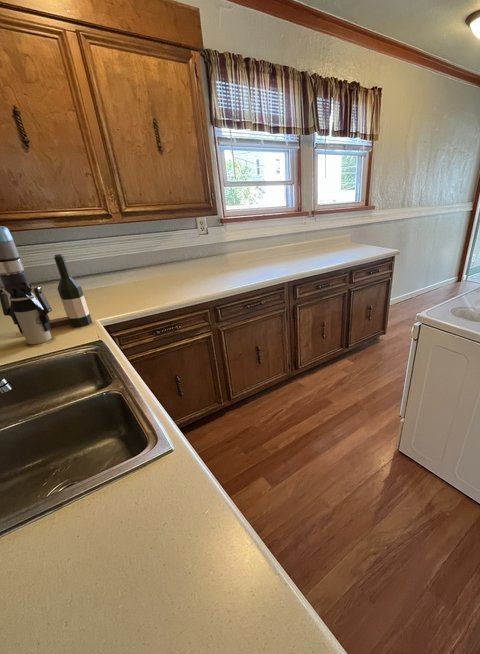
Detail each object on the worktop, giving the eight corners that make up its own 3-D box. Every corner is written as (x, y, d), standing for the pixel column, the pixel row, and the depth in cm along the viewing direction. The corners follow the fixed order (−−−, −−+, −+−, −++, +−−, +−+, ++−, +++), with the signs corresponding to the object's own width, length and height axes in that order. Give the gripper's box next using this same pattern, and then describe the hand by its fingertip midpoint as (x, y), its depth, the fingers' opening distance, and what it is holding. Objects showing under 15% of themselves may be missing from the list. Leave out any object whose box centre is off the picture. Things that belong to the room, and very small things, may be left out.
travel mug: (22, 343, 127) (3, 298, 118) (42, 335, 133) (25, 292, 125) (36, 346, 124) (18, 300, 116) (56, 337, 131) (40, 294, 123)
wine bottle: (96, 321, 147) (75, 253, 133) (81, 328, 140) (56, 257, 126) (82, 319, 149) (59, 252, 135) (65, 326, 142) (40, 256, 128)
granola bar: (38, 330, 138) (36, 325, 137) (37, 327, 141) (35, 322, 140) (71, 323, 144) (69, 318, 143) (69, 321, 148) (67, 316, 146)
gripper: (49, 268, 121) (69, 325, 132) (-14, 271, 118) (12, 329, 129) (38, 273, 115) (60, 332, 125) (-29, 276, 112) (0, 336, 122)
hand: (35, 330), depth 127 cm, fingers closed on travel mug, 8 cm apart
